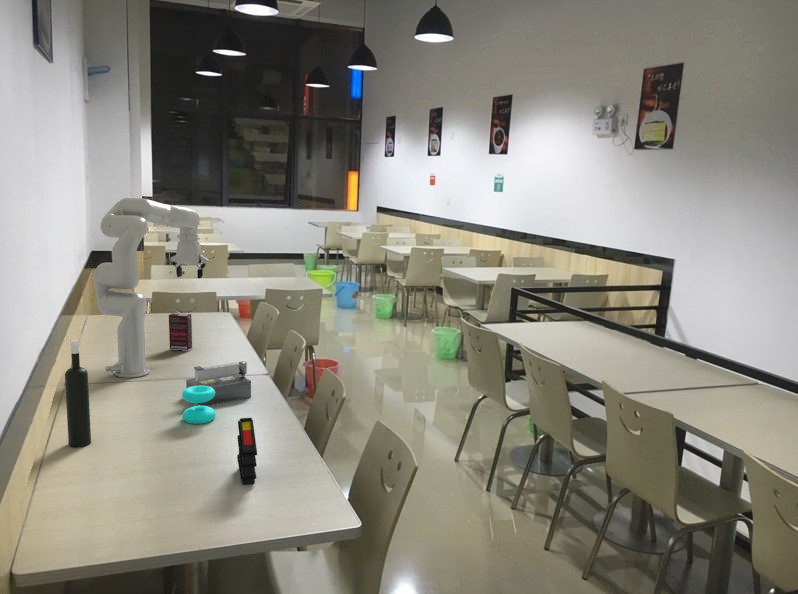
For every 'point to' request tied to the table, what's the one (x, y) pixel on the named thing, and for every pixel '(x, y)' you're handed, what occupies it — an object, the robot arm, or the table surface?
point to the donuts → (198, 412)
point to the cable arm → (220, 371)
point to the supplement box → (180, 331)
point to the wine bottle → (77, 401)
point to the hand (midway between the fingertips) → (189, 277)
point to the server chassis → (225, 388)
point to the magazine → (247, 451)
